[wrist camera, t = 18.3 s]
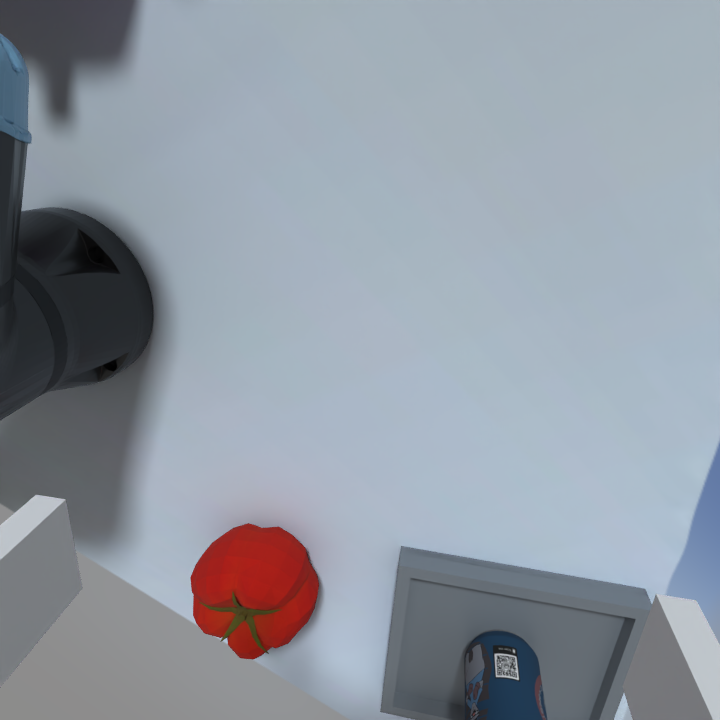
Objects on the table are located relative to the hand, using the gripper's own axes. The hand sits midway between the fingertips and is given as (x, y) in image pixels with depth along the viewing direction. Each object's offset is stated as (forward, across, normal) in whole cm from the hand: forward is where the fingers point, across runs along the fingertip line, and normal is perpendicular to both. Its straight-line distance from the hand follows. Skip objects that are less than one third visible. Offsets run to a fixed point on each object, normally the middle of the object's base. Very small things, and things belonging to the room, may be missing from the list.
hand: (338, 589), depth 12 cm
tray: (+31, +12, -36) cm, 49 cm away
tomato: (+32, -12, -30) cm, 45 cm away
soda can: (+30, +12, -36) cm, 49 cm away
